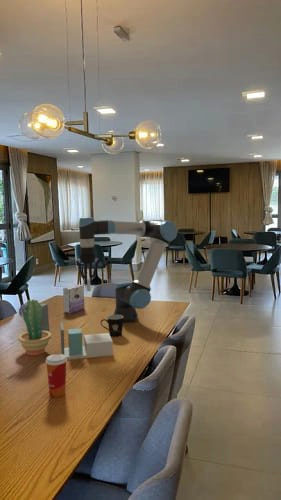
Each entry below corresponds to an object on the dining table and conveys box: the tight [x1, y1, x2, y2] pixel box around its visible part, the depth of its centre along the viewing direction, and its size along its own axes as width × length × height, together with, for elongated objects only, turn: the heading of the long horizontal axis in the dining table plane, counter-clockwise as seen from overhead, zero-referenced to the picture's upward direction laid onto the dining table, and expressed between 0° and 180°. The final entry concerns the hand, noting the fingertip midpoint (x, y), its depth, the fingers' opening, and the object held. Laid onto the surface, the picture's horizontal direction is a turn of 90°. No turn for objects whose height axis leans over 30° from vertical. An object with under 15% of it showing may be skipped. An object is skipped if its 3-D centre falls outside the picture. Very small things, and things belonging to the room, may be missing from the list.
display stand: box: [59, 321, 114, 361], centre depth 179 cm, size 23×12×14 cm, turn 104°
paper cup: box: [45, 353, 68, 398], centre depth 140 cm, size 8×8×14 cm
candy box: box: [62, 284, 85, 315], centre depth 252 cm, size 14×6×16 cm, turn 144°
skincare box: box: [40, 303, 50, 332], centre depth 207 cm, size 8×7×16 cm
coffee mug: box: [100, 314, 124, 338], centre depth 204 cm, size 12×9×10 cm
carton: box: [67, 327, 83, 355], centre depth 177 cm, size 10×7×6 cm
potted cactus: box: [17, 299, 52, 356], centre depth 180 cm, size 15×15×25 cm
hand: (88, 290), depth 203 cm, fingers closed
